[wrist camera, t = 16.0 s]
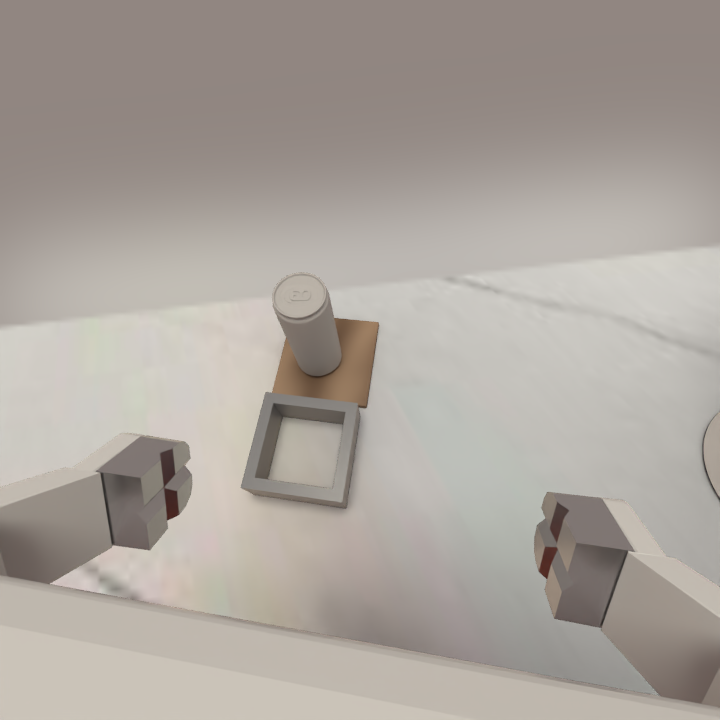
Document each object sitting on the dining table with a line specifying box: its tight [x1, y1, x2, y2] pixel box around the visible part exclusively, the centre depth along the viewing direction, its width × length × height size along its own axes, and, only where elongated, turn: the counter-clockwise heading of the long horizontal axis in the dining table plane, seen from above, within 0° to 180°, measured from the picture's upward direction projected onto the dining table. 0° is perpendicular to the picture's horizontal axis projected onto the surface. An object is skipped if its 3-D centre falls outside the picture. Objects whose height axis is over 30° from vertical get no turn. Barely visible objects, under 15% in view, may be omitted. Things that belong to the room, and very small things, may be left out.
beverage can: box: [272, 272, 342, 376], centre depth 40 cm, size 5×5×12 cm
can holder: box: [241, 392, 360, 508], centre depth 40 cm, size 9×9×4 cm
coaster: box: [272, 318, 379, 408], centre depth 46 cm, size 10×10×1 cm
